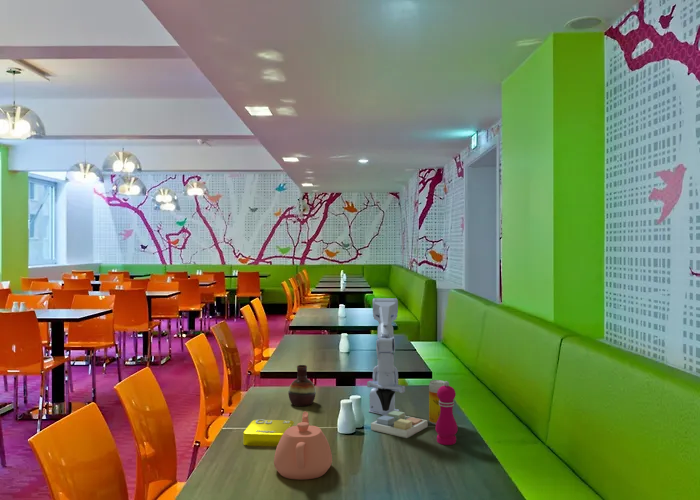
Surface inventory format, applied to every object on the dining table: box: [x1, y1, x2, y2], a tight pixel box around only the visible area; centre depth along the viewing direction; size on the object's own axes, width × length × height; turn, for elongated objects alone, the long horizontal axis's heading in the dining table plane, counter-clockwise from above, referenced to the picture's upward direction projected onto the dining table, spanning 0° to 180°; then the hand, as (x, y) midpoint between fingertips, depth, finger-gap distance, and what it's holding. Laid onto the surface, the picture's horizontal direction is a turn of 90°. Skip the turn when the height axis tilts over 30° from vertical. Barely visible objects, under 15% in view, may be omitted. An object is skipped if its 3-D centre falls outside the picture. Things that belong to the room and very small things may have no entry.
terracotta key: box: [406, 416, 423, 426], centre depth 200 cm, size 4×4×2 cm
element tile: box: [242, 418, 295, 447], centre depth 190 cm, size 15×15×5 cm
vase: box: [288, 364, 316, 407], centre depth 231 cm, size 11×11×15 cm
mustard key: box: [394, 419, 412, 430], centre depth 195 cm, size 4×4×2 cm
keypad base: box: [370, 415, 429, 439], centre depth 200 cm, size 14×14×2 cm
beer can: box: [428, 379, 445, 426], centre depth 206 cm, size 6×6×15 cm
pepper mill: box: [434, 380, 459, 446], centre depth 186 cm, size 7×7×20 cm
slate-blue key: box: [376, 415, 395, 426], centre depth 199 cm, size 4×4×2 cm
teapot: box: [273, 411, 333, 480], centre depth 165 cm, size 25×17×13 cm
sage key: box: [388, 410, 406, 421], centre depth 205 cm, size 4×4×2 cm
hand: (385, 410), depth 199 cm, fingers closed
